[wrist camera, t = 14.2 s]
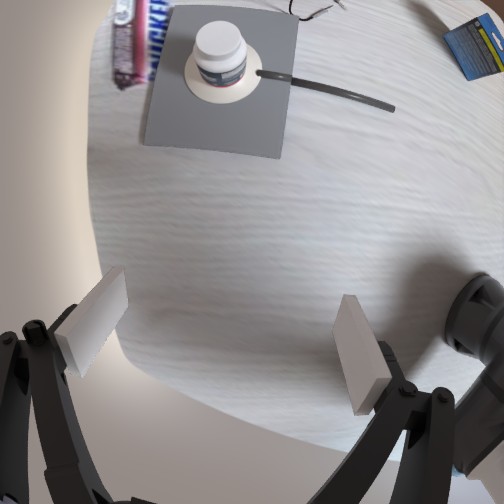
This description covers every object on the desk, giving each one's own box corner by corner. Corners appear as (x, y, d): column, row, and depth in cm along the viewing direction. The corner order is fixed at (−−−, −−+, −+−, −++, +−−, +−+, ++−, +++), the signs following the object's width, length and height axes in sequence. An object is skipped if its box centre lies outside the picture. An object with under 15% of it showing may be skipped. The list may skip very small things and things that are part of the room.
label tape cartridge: (477, 77, 29) (526, 65, 17) (467, 81, 29) (518, 69, 17) (452, 32, 27) (497, 11, 15) (441, 35, 27) (486, 11, 15)
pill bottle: (191, 65, 27) (176, 33, 19) (229, 43, 27) (226, 6, 18) (216, 97, 29) (208, 71, 20) (254, 74, 28) (259, 42, 20)
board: (393, 49, 28) (399, 45, 27) (383, 181, 33) (390, 181, 32) (176, 9, 26) (174, 3, 24) (146, 145, 31) (141, 144, 29)
